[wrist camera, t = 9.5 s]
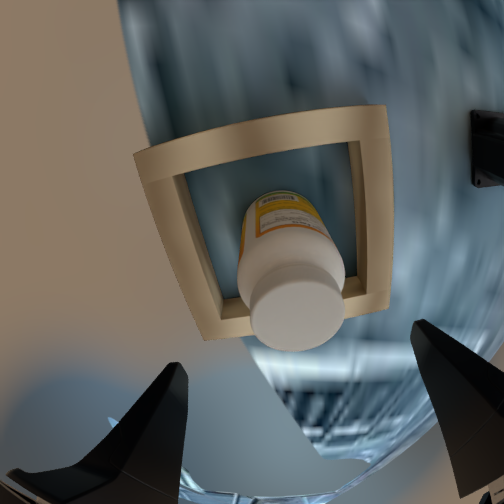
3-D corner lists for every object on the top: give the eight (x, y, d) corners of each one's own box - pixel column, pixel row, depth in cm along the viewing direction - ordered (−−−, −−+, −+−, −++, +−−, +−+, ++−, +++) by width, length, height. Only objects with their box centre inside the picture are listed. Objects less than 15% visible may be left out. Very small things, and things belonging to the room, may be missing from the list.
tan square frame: (369, 104, 15) (385, 104, 13) (378, 290, 22) (388, 308, 20) (147, 147, 17) (132, 154, 15) (208, 320, 24) (204, 340, 22)
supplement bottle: (283, 271, 21) (297, 375, 13) (227, 230, 20) (206, 327, 11) (333, 221, 19) (385, 310, 11) (277, 172, 18) (298, 236, 9)
